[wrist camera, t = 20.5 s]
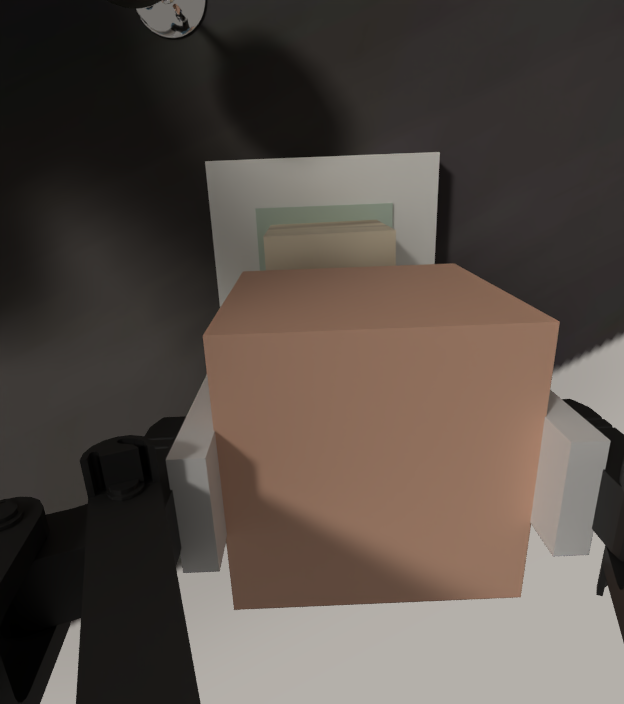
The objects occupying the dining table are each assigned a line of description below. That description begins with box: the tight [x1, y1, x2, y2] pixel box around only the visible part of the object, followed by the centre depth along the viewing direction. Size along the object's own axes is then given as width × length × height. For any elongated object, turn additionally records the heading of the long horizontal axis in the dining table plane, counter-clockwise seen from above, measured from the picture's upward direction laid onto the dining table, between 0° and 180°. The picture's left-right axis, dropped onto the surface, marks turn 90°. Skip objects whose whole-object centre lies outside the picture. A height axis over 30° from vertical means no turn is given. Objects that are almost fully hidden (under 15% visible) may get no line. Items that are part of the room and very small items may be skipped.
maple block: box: [263, 220, 396, 270], centre depth 30 cm, size 7×7×7 cm
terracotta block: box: [203, 263, 560, 610], centre depth 14 cm, size 7×7×7 cm
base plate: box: [205, 152, 440, 307], centre depth 34 cm, size 15×15×2 cm
